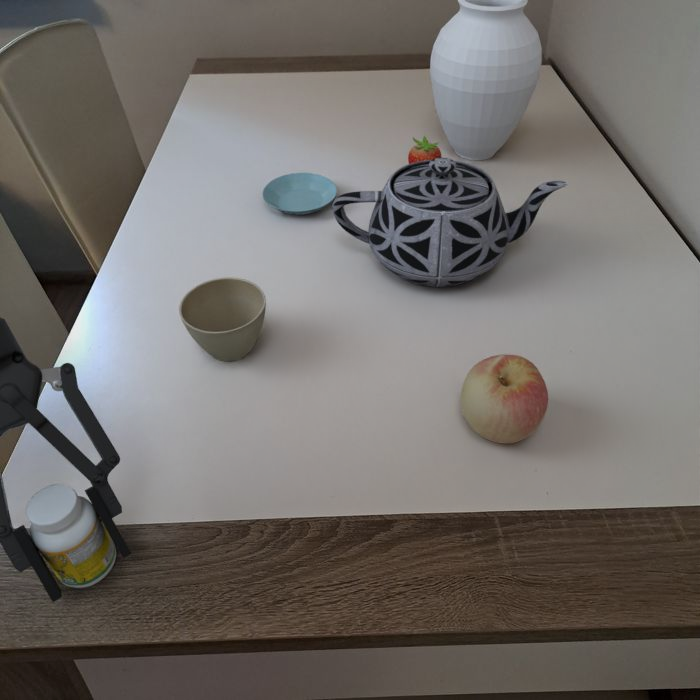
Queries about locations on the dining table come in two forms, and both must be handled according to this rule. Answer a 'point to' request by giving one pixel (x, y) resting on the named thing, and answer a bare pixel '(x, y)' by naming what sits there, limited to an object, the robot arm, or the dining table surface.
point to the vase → (484, 74)
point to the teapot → (440, 221)
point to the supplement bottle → (70, 536)
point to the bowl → (224, 316)
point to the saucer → (299, 193)
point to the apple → (504, 398)
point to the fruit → (423, 151)
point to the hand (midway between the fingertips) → (92, 574)
